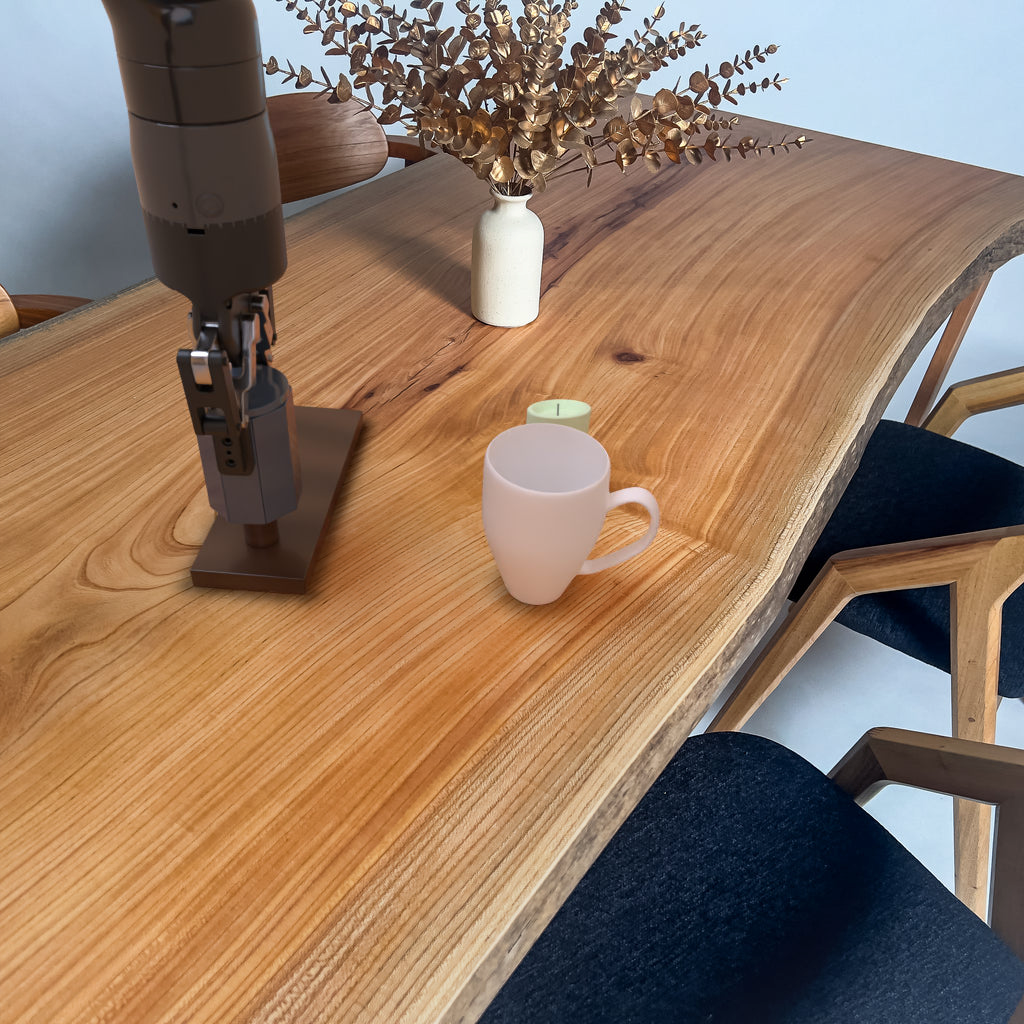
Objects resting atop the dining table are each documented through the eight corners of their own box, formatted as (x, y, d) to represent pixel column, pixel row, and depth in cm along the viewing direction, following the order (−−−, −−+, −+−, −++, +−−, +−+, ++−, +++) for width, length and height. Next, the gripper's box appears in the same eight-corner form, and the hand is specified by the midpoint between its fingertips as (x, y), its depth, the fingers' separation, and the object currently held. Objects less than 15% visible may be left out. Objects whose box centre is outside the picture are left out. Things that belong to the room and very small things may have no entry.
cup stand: (306, 595, 64) (290, 455, 56) (192, 586, 64) (161, 444, 56) (363, 424, 81) (356, 300, 73) (274, 417, 81) (258, 292, 73)
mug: (464, 611, 63) (469, 480, 56) (494, 538, 70) (502, 412, 62) (634, 648, 61) (661, 518, 54) (648, 569, 68) (675, 443, 61)
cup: (244, 536, 60) (225, 422, 55) (195, 494, 63) (173, 383, 58) (318, 499, 64) (307, 388, 58) (268, 461, 67) (254, 353, 61)
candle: (512, 472, 77) (518, 388, 71) (567, 463, 78) (576, 380, 73) (533, 507, 73) (542, 421, 68) (590, 497, 74) (602, 412, 69)
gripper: (177, 148, 56) (217, 385, 66) (97, 239, 44) (160, 508, 55) (301, 155, 56) (320, 390, 66) (252, 247, 45) (285, 512, 55)
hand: (248, 442), depth 61 cm, fingers closed on cup, 6 cm apart
